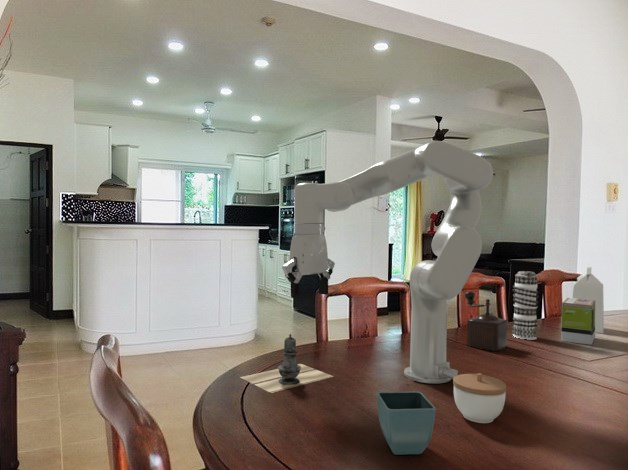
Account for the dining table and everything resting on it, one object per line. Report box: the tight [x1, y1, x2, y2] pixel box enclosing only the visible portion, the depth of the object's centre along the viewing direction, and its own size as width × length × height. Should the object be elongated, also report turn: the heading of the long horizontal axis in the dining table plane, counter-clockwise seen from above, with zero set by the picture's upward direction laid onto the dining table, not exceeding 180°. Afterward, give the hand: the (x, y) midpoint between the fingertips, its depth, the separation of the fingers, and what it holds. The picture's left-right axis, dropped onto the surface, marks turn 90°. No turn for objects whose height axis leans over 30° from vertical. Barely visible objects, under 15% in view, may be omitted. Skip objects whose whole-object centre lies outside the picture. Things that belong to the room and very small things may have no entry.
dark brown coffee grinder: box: [463, 291, 508, 352], centre depth 162 cm, size 16×11×18 cm
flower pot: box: [376, 391, 437, 456], centre depth 84 cm, size 9×9×9 cm
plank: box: [254, 369, 335, 394], centre depth 116 cm, size 7×20×1 cm, turn 131°
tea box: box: [560, 297, 596, 346], centre depth 173 cm, size 15×10×15 cm, turn 144°
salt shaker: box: [277, 333, 301, 385], centre depth 115 cm, size 6×6×12 cm
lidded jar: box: [452, 372, 507, 424], centre depth 98 cm, size 11×11×9 cm
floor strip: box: [239, 363, 316, 385], centre depth 121 cm, size 6×20×1 cm, turn 130°
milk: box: [572, 266, 605, 334], centre depth 193 cm, size 12×12×26 cm
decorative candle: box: [511, 270, 540, 341], centre depth 175 cm, size 9×9×25 cm
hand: (309, 296), depth 120 cm, fingers open, 9 cm apart
